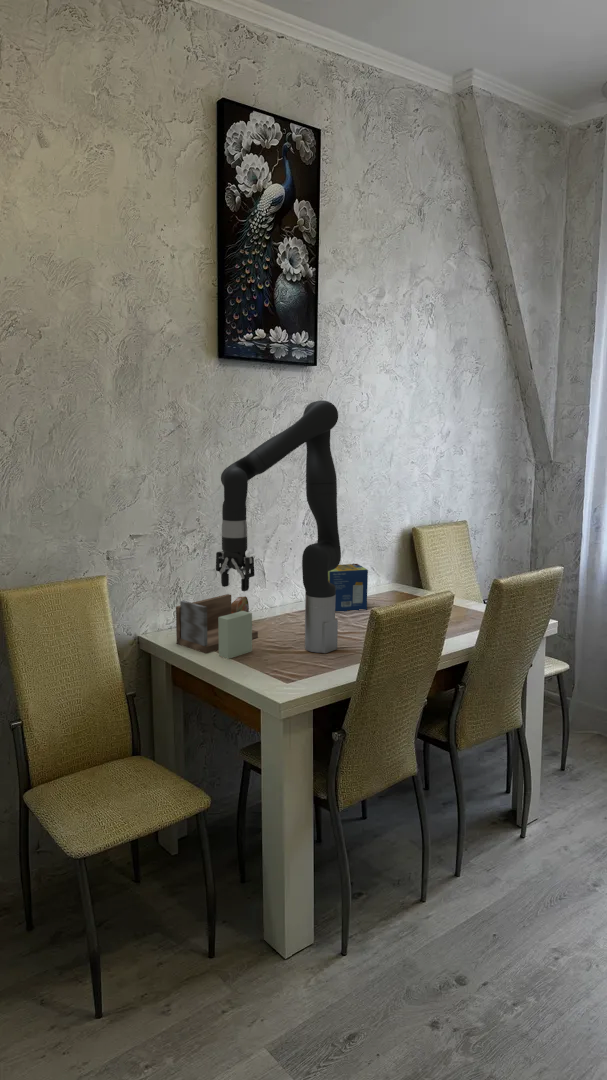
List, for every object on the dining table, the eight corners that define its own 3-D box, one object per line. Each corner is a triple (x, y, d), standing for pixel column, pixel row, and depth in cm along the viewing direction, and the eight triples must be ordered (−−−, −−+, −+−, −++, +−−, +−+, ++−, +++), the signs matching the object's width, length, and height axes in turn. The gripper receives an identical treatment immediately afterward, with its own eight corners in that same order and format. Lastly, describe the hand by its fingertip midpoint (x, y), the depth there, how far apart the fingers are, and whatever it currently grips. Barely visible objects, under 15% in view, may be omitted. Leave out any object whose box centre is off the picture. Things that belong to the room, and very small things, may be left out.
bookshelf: (257, 637, 242) (257, 595, 240) (206, 653, 226) (205, 608, 224) (228, 628, 252) (227, 588, 249) (176, 643, 235) (175, 600, 233)
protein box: (319, 605, 282) (319, 565, 280) (357, 603, 287) (358, 563, 284) (328, 613, 273) (329, 571, 270) (367, 610, 277) (368, 569, 274)
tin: (237, 629, 252) (237, 604, 250) (228, 628, 252) (228, 604, 251) (249, 617, 266) (249, 594, 265) (241, 616, 267) (241, 593, 266)
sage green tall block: (252, 651, 229) (251, 613, 227) (227, 659, 221) (227, 619, 219) (242, 648, 231) (242, 610, 229) (218, 656, 224) (218, 617, 222)
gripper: (260, 536, 218) (260, 590, 221) (227, 530, 228) (228, 582, 230) (241, 539, 213) (242, 594, 216) (208, 533, 222) (209, 586, 225)
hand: (234, 588), depth 223 cm, fingers open, 8 cm apart
